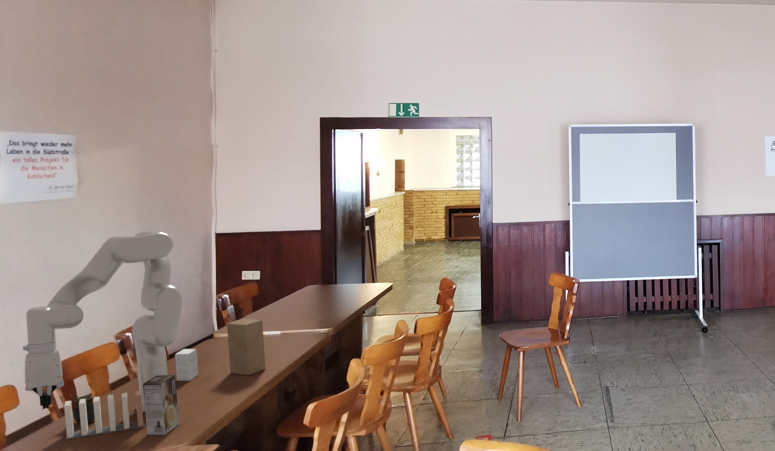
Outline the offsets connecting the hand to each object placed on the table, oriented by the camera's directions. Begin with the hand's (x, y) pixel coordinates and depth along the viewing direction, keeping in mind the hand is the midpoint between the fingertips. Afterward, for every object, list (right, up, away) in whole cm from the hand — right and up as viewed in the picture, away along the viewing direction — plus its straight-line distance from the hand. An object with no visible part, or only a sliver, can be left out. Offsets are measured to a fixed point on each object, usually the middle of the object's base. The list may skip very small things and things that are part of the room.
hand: (46, 407), depth 219 cm
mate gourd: (+5, -9, +16) cm, 19 cm away
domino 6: (+25, -8, +10) cm, 28 cm away
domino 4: (+18, -8, +7) cm, 21 cm away
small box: (+26, -4, +62) cm, 67 cm away
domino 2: (+10, -9, +4) cm, 14 cm away
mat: (+16, -9, +6) cm, 19 cm away
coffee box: (+34, -8, +4) cm, 36 cm away
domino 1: (+6, -9, +3) cm, 11 cm away
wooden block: (+49, -3, +67) cm, 83 cm away
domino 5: (+21, -8, +8) cm, 25 cm away
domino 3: (+14, -9, +6) cm, 17 cm away
